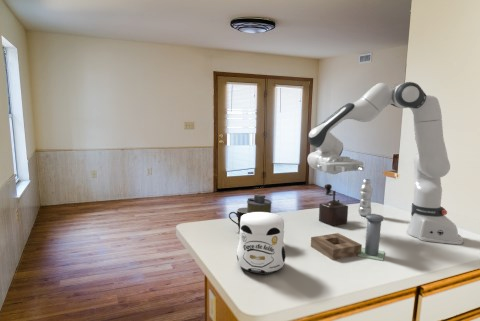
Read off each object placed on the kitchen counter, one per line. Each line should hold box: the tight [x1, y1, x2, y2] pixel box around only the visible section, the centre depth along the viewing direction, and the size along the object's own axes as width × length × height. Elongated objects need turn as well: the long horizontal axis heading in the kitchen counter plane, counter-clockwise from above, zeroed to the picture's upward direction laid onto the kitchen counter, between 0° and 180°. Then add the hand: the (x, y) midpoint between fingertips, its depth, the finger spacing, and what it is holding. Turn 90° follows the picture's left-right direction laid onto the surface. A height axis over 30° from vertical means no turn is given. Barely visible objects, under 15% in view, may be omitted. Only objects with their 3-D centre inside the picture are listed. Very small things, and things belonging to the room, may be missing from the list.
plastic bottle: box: [358, 178, 374, 217], centre depth 185 cm, size 6×7×20 cm
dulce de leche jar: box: [236, 212, 286, 274], centre depth 121 cm, size 17×17×18 cm
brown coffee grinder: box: [318, 183, 349, 227], centre depth 175 cm, size 16×11×18 cm
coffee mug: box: [228, 207, 247, 233], centre depth 159 cm, size 12×9×10 cm
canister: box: [246, 193, 273, 213], centre depth 146 cm, size 11×10×20 cm
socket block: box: [310, 232, 363, 261], centre depth 138 cm, size 14×14×4 cm
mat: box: [357, 247, 385, 262], centre depth 135 cm, size 9×9×1 cm
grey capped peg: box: [364, 213, 384, 256], centre depth 134 cm, size 6×6×15 cm
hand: (354, 169), depth 143 cm, fingers open, 8 cm apart
